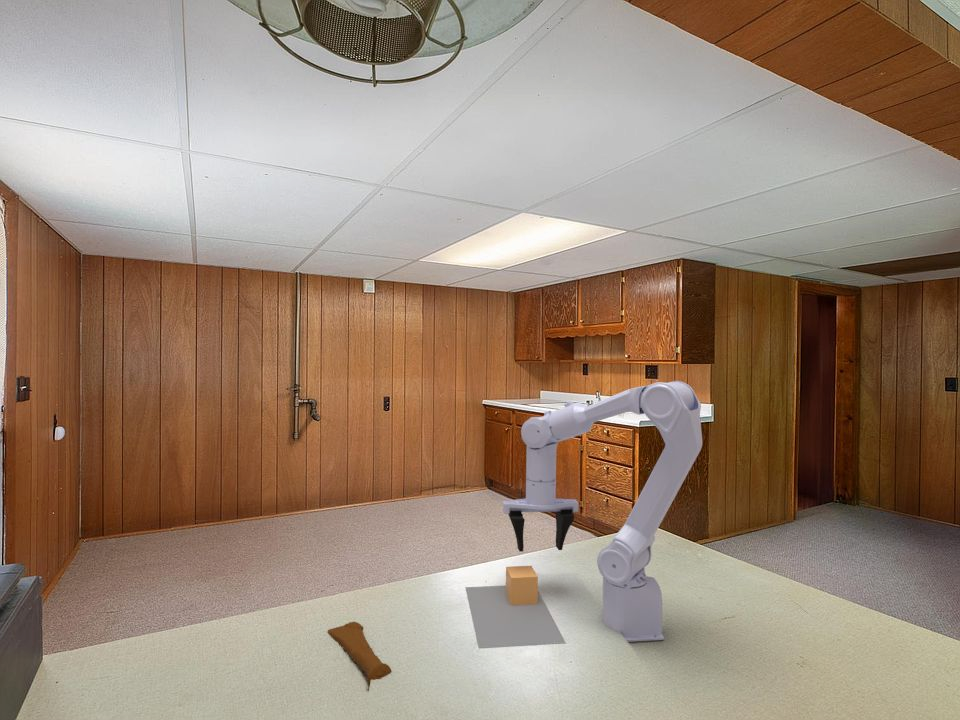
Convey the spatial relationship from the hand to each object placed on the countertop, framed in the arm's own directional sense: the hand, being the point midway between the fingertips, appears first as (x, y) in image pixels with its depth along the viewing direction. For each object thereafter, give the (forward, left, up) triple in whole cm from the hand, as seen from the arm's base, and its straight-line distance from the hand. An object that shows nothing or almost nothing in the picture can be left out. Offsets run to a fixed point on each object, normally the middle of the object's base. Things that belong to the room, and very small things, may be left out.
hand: (539, 549), depth 98 cm
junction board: (+7, +7, -10) cm, 14 cm away
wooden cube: (+4, +2, -8) cm, 10 cm away
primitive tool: (+33, +14, -11) cm, 37 cm away
